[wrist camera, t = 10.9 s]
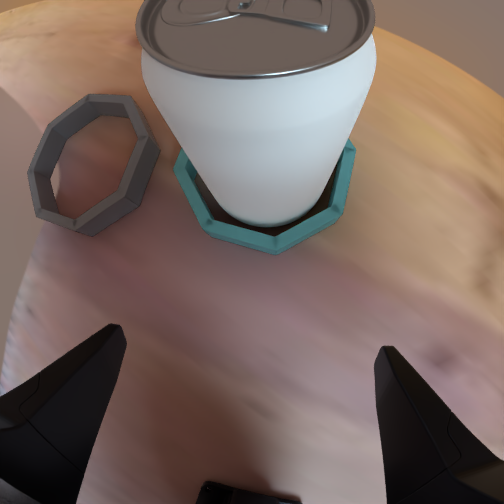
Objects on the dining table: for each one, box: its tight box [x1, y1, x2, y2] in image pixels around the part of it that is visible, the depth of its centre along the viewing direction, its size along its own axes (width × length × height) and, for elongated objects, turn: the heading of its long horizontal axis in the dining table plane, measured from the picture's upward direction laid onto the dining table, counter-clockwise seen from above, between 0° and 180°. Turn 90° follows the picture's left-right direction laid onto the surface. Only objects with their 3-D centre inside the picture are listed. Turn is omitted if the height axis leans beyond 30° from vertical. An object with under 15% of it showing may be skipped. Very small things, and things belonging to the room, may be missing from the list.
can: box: [135, 0, 376, 227], centre depth 11 cm, size 6×6×12 cm
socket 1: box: [27, 94, 160, 236], centre depth 17 cm, size 9×9×2 cm
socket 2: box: [173, 138, 356, 255], centre depth 16 cm, size 9×9×2 cm
